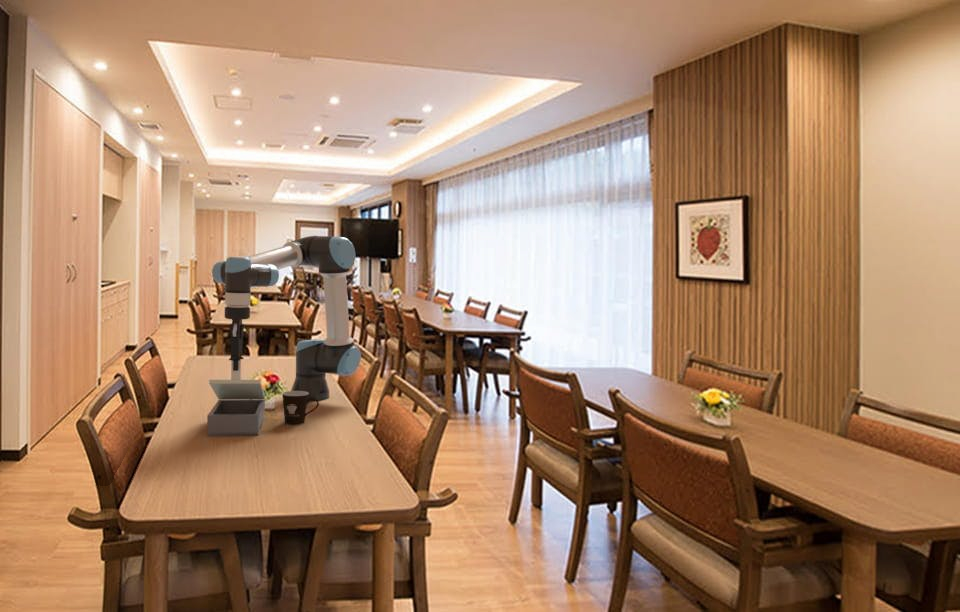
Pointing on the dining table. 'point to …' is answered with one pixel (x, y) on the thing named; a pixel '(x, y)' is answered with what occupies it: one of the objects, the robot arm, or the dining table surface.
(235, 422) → the open storage box
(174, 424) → the dining table surface
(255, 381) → the box lid
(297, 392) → the coffee mug
